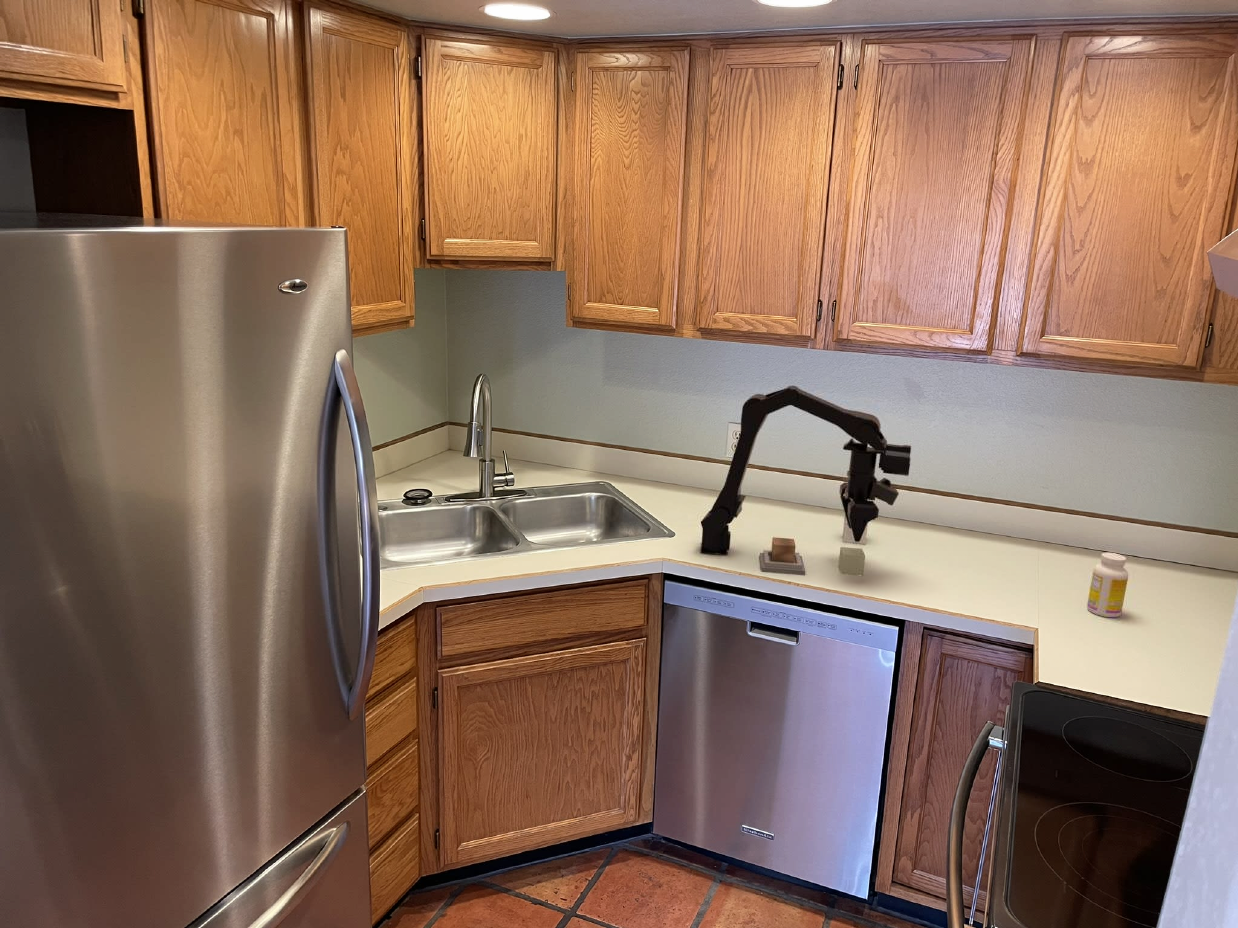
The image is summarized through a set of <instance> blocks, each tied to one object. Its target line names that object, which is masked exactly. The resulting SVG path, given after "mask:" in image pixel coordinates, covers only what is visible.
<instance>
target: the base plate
mask: <svg viewBox="0 0 1238 928" xmlns="http://www.w3.org/2000/svg"><path fill="white" fill-rule="evenodd" d="M759 565H760V571H761V572H764V573H775V574H787V575H790V574H791V575H800V576H803V575H804V576H806V567H805V564H804V560H803V556H802V555H800V552H796V551H795V557H794V563H784V562H772V561H771V550H768V549H767V550H766V549H763V552H759Z"/></svg>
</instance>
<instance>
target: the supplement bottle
mask: <svg viewBox="0 0 1238 928" xmlns="http://www.w3.org/2000/svg"><path fill="white" fill-rule="evenodd" d="M1100 556H1101V557H1100V563H1098V564H1096V565H1095V566H1094V567H1093V571H1092V576H1091V581H1090V586H1089V593H1088V597H1087V603H1086V604H1087V605H1086V608H1087V610H1088V611H1089V612H1091V613H1093V614H1094V615H1097V616H1100V617H1105V618H1117V617H1120V616H1121V614H1122V611H1123V606H1124V603H1125V596H1126V591H1127V585H1128V580H1129V571H1128V570H1127V569H1126V568H1125V565H1126V564H1127V558H1126V556H1124V555H1121V554H1118V553H1114V552H1103V553H1101V555H1100Z"/></svg>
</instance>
